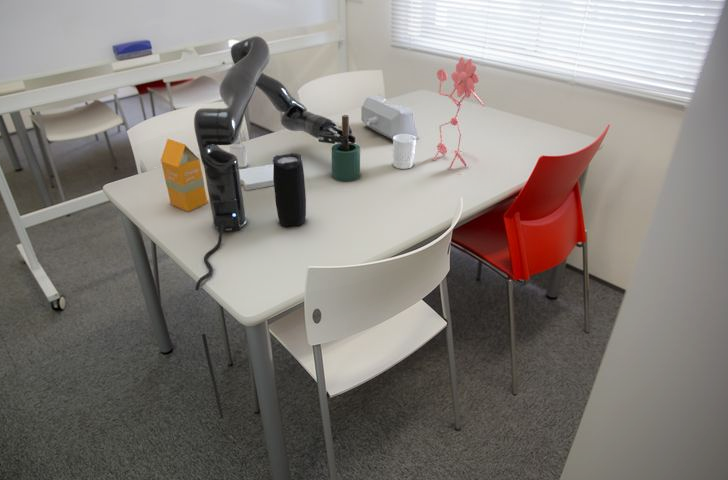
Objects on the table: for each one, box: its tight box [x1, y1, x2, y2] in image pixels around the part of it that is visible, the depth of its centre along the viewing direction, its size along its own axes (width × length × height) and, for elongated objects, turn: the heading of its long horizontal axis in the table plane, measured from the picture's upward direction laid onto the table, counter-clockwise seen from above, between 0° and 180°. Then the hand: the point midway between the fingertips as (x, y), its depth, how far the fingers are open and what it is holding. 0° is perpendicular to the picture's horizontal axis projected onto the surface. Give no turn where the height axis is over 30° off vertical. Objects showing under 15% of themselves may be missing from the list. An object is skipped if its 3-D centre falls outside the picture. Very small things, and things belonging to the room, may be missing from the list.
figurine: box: [433, 56, 486, 176], centre depth 173 cm, size 15×26×35 cm, turn 26°
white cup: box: [392, 134, 417, 170], centre depth 177 cm, size 8×8×10 cm
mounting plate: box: [239, 163, 274, 191], centre depth 172 cm, size 18×13×2 cm
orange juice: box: [160, 138, 208, 212], centre depth 153 cm, size 8×9×20 cm
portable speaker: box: [272, 152, 307, 228], centre depth 142 cm, size 9×9×20 cm
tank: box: [360, 94, 419, 141], centre depth 204 cm, size 25×16×12 cm, turn 29°
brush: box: [341, 114, 350, 151], centre depth 168 cm, size 4×4×18 cm
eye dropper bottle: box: [229, 136, 248, 169], centre depth 180 cm, size 4×6×12 cm
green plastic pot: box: [331, 142, 361, 182], centre depth 171 cm, size 9×9×10 cm
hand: (351, 141), depth 165 cm, fingers closed on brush, 2 cm apart
